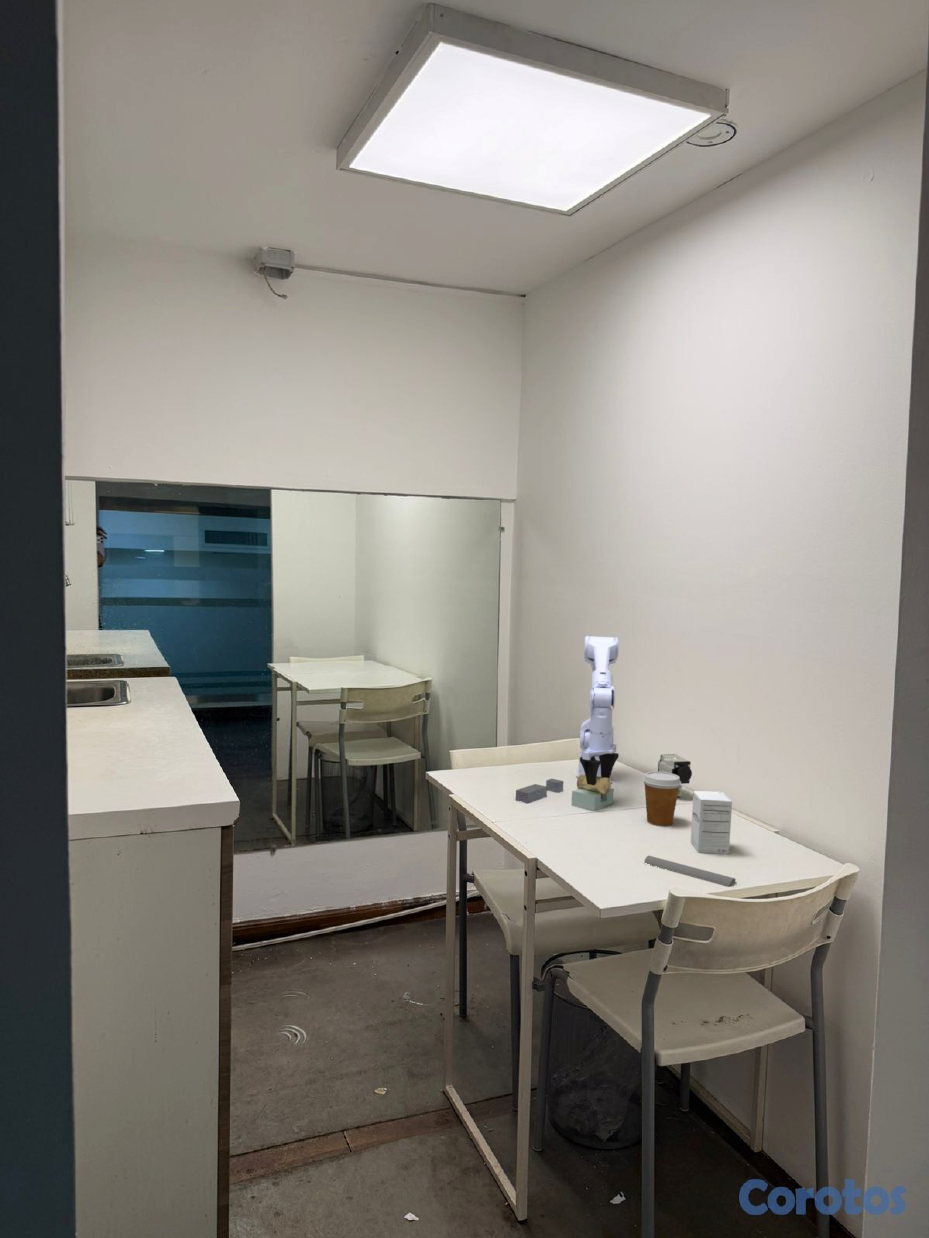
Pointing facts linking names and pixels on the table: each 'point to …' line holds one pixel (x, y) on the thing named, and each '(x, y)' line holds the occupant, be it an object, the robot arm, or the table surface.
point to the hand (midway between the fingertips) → (598, 781)
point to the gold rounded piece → (599, 787)
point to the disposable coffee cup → (661, 797)
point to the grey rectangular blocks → (538, 790)
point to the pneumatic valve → (676, 768)
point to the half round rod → (690, 871)
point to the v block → (591, 799)
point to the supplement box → (711, 822)
